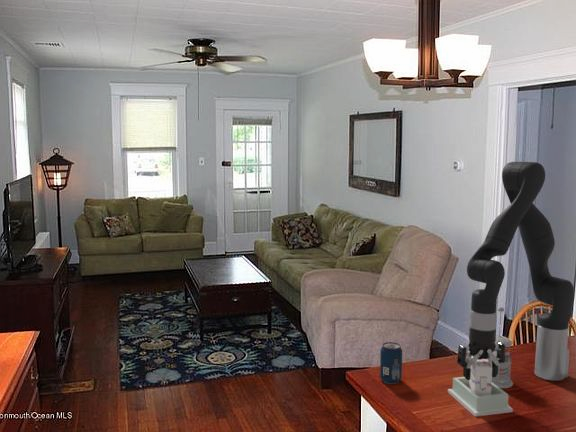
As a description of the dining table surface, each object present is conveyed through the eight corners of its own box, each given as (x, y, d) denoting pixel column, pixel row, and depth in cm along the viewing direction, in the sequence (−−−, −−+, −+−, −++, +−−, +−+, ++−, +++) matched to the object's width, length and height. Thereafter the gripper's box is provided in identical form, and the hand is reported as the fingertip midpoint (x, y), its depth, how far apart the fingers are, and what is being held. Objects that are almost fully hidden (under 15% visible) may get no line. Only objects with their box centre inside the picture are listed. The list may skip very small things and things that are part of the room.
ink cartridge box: (467, 391, 179) (469, 346, 177) (483, 392, 178) (486, 346, 176) (473, 404, 170) (476, 356, 168) (491, 405, 170) (493, 357, 168)
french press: (475, 382, 188) (479, 307, 184) (491, 371, 197) (494, 299, 193) (505, 391, 181) (510, 313, 178) (520, 379, 190) (524, 305, 186)
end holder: (482, 388, 183) (483, 373, 183) (512, 412, 168) (513, 395, 167) (447, 392, 181) (448, 376, 180) (475, 416, 165) (475, 399, 165)
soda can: (386, 374, 194) (387, 339, 192) (405, 379, 190) (406, 344, 188) (375, 381, 189) (376, 345, 187) (394, 387, 185) (395, 350, 183)
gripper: (497, 319, 176) (494, 370, 178) (454, 323, 173) (452, 374, 175) (511, 327, 169) (508, 380, 171) (467, 331, 166) (464, 385, 168)
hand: (480, 377), depth 173 cm, fingers open, 8 cm apart
